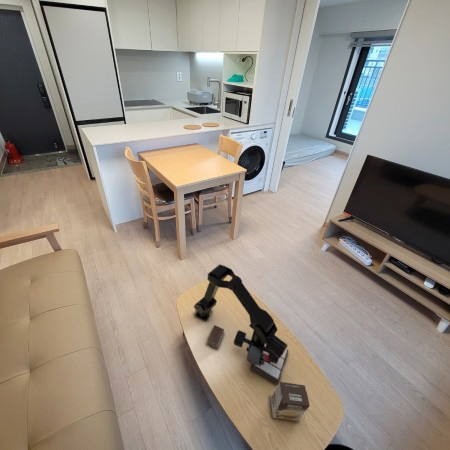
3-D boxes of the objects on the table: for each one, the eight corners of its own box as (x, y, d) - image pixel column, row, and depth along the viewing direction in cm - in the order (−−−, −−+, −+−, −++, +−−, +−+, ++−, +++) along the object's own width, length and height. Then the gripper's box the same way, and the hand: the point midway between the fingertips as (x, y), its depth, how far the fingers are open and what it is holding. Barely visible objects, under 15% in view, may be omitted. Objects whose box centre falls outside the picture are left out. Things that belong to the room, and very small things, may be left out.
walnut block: (207, 344, 108) (207, 339, 105) (214, 329, 114) (214, 324, 111) (217, 349, 106) (217, 344, 104) (223, 334, 112) (224, 329, 110)
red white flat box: (289, 348, 103) (279, 380, 92) (286, 354, 106) (276, 385, 95) (265, 336, 108) (253, 364, 97) (263, 341, 110) (251, 369, 99)
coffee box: (272, 418, 86) (281, 403, 77) (270, 398, 91) (278, 381, 82) (297, 421, 85) (310, 406, 76) (294, 400, 91) (305, 384, 81)
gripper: (230, 345, 91) (227, 363, 100) (278, 367, 85) (270, 384, 94) (239, 321, 99) (236, 340, 108) (284, 340, 93) (276, 358, 102)
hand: (253, 355), depth 103 cm, fingers closed
